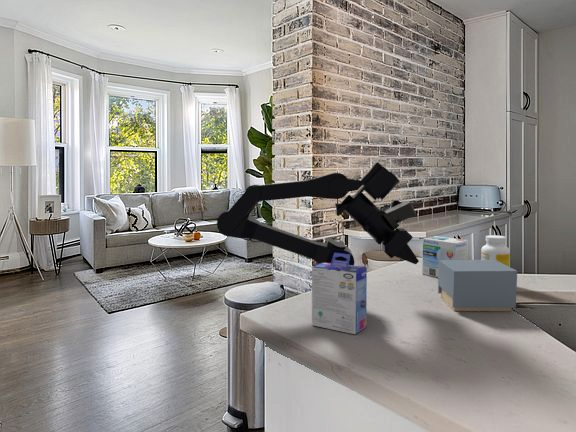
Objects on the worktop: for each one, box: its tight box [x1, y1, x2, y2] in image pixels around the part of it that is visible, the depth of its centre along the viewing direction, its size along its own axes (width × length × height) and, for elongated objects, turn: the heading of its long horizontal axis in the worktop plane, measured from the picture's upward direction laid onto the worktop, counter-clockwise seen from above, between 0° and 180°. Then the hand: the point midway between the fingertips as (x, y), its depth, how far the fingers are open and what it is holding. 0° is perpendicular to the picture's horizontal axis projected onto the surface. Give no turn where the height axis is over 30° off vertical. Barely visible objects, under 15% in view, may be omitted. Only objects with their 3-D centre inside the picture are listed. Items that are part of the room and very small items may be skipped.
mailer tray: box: [440, 288, 512, 312], centre depth 93 cm, size 12×9×3 cm
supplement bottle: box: [480, 234, 511, 267], centre depth 107 cm, size 7×7×13 cm
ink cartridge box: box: [311, 253, 368, 335], centre depth 81 cm, size 10×6×14 cm, turn 57°
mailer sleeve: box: [437, 259, 518, 309], centre depth 92 cm, size 13×11×8 cm
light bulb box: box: [421, 235, 469, 279], centre depth 117 cm, size 11×7×11 cm, turn 37°
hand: (417, 262), depth 93 cm, fingers closed
